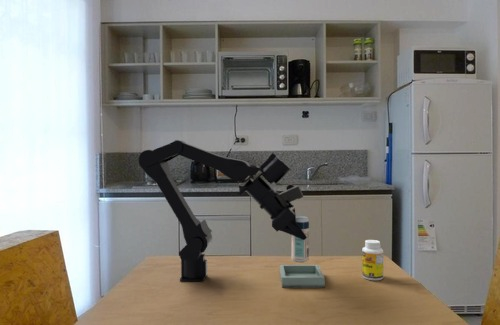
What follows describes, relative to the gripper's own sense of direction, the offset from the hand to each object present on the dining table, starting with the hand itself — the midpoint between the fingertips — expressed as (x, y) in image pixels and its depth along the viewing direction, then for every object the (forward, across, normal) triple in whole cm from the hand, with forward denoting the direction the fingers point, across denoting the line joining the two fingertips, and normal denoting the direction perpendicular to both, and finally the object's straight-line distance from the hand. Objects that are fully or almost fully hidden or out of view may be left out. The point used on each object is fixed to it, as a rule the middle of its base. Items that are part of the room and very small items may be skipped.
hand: (305, 236), depth 100 cm
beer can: (+4, 0, +6) cm, 7 cm away
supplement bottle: (+22, +3, -5) cm, 22 cm away
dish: (+8, 0, +9) cm, 12 cm away
